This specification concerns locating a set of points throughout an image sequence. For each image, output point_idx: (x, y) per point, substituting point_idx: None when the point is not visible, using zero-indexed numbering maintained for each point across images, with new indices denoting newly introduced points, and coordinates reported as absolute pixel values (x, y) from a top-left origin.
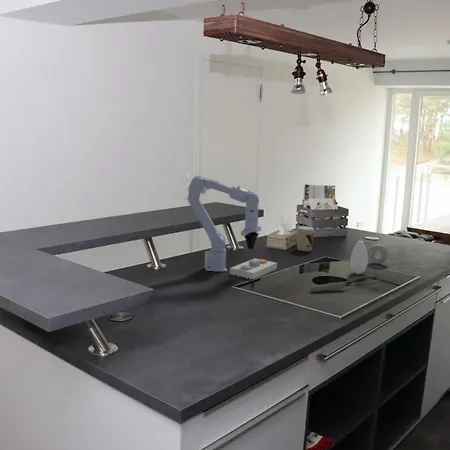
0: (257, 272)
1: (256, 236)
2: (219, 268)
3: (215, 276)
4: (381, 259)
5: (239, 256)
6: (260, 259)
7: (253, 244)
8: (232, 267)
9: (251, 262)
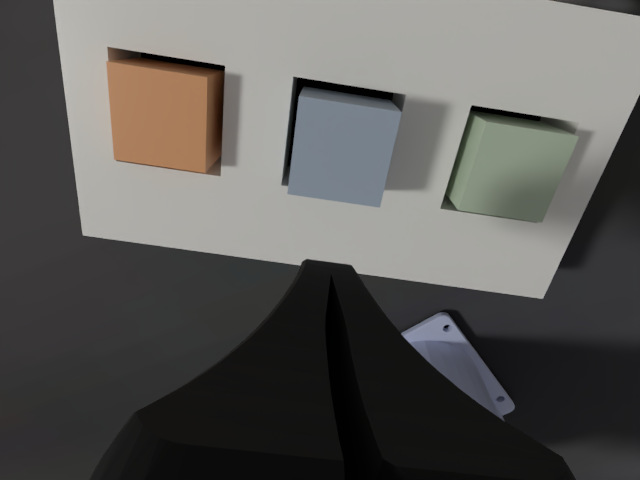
0: (569, 5)
1: (275, 407)
2: (475, 368)
3: (603, 329)
4: None
5: (3, 379)
6: (138, 147)
7: (327, 297)
8: (517, 289)
9: (385, 172)
